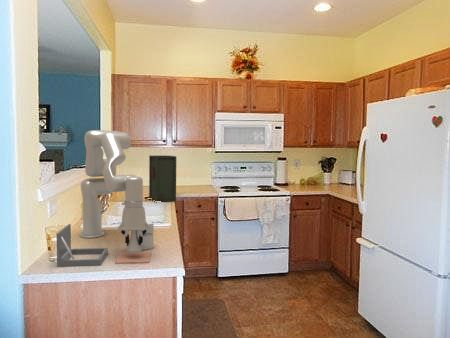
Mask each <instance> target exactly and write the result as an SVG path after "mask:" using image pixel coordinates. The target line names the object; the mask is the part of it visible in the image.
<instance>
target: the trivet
mask: <svg viewBox="0 0 450 338" xmlns="http://www.w3.org/2000/svg"><path fill="white" fill-rule="evenodd" d="M151 254H152V251H150V250H149V251H140V252H134V253H130V252H126V251H120V252H119V254H118V256H117V258H116V260H115V265H124V264H125V265H127V264H129V265H130V264H149V263H150V259H151Z"/></svg>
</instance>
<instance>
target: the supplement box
mask: <svg viewBox="0 0 450 338" xmlns="http://www.w3.org/2000/svg"><path fill="white" fill-rule="evenodd" d="M146 222H147V224H148V225H149V226H150V227H151V229H150V230H149V231H147V232H146V233H145V234H144V235H143V243H141V247H142V251H143V250H151V249H154V223H153V222H152V221H149V220H146ZM145 229H146V226H145ZM145 229H144V230H145ZM144 230H143V231H144ZM137 235H138V239H139V236H140V233H139V231H137Z"/></svg>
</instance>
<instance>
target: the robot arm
mask: <svg viewBox="0 0 450 338" xmlns="http://www.w3.org/2000/svg"><path fill="white" fill-rule="evenodd" d="M84 144H85V150H86V153H85V155H86V156H85V171H84V172H85V174H86V176H88V177H90V178H86V179H83V180H82V181H81V182H80V191H81V196H82V228H83V229H82V232H81V233H80V234H79V236H80V237H81V238H84V239H85V238H86V239H93V238H94V239H95V238H100V237H103V236H105V231H104V230H102V227H103V225H102V223H103V222H102V221H103V220H102V202H101V200H100V198H98V196H104V195H110V194H112V193H118V192H119V193H121V192H122V193H123V192H124V193H125V194H124V195H125V196H124V197H125V198H124V201H121V205H122V206H124V207H123V208H122V216H121V223H120V225H118V227H117V231H118V232H120V233H121V234H122V235H123V236H124V237H125V239H124V242H125V244H126V246H128V243H129V240H130V235H129V232H131V231H139V233H140V236H139V245H141V243H143V235H144V234H145V233H146V232H147V231H149V230H150V229H151V227H150V226H149V225H148V224H147V222H146V221H147V218H146V217H147V216H146V211H145V210H146V209H145V206H143V205H144V204H143V203H144V202H143V201H144V200H143V199H144V196H143V195H144V191H143V189H144V184H143V183H144V181H143V178H142V176H137V175H134V174H117V172H116V171H117V166H119V165H121V164H123V162H124V161H125V160H126V157H127V156H126V154H125V151H124V150H127V149H130V148H131V145H132V139H131V137H130V135H129V134H128V133H126V132H124V131H118V130H100V129H95V130H93V129H92V130H88V131H86V132H85V134H84ZM104 154H105V157H106V158H104ZM145 226H146V229H145ZM144 229H145V230H144ZM143 230H144V231H143Z"/></svg>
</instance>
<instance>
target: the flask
mask: <svg viewBox="0 0 450 338" xmlns="http://www.w3.org/2000/svg"><path fill="white" fill-rule="evenodd" d="M126 246H127V245H126ZM125 252H130V253H134V252H143V250H142V247H141V245H139V239H138V235H137V231H130V236H129V243H128V246H127V247H126V248H125Z"/></svg>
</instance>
